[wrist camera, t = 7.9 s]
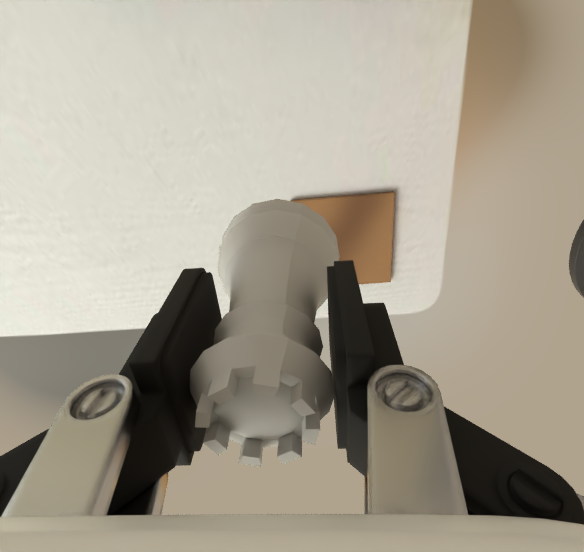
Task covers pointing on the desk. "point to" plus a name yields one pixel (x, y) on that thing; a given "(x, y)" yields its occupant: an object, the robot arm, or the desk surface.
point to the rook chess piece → (268, 335)
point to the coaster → (361, 231)
